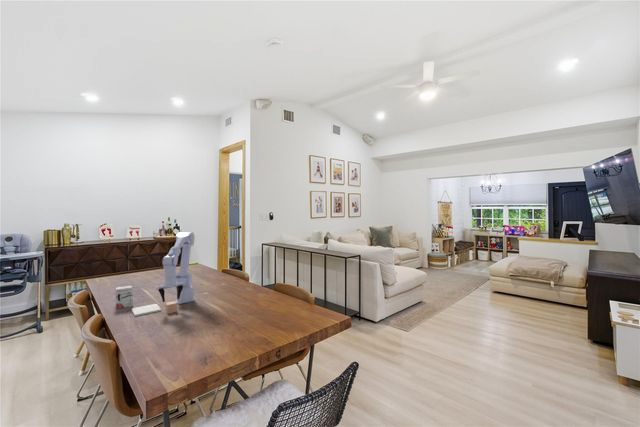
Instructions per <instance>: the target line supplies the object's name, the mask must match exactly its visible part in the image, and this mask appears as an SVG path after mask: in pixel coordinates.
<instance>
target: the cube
mask: <svg viewBox="0 0 640 427" xmlns="http://www.w3.org/2000/svg"><path fill="white" fill-rule="evenodd" d="M164 303H165V312H166V314H172V313H173V314H174V313H177V312H178V303H177V302H176V301H175V300H172V301H168V302H164Z"/></svg>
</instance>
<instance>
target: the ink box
mask: <svg viewBox="0 0 640 427" xmlns="http://www.w3.org/2000/svg"><path fill="white" fill-rule="evenodd" d="M133 299H134V298H133V285H125V286H117V287H116V288H115V309H116V310H117V309H118V310H119V309H124V308H129V307H133V305H134V304H133V303H134V302H133Z"/></svg>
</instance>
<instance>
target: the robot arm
mask: <svg viewBox="0 0 640 427" xmlns="http://www.w3.org/2000/svg"><path fill="white" fill-rule="evenodd" d="M175 240H176V241H175V243H174V245H173V246H172V247H171V248H170V249H169V252H168V253H167V254H166V255H165V256H164V257H163V258H162V261H161V263H162V266H163V267H162V268H163V270H164V284H160V285H156V286H155V290H156V291H158V293H159V295H160V296H161V300H162V302H163V303H166V300H165V293H166V291H165V289H170V288H175V289H176V299H175V300H174V301H175V302H176V303H177V305H181V304H185V303H191V302H195V296H194V295H195V293H194V292H195V290H194V287H193V275H192V274H191V273H190V272H189V266H190V260H191V258H190V257H191V250H192V247H193V246H194V243H195V233H194V232H193V231H191V232H190V231H188V232H187V231H185V232H184V231H183V232H182V231H181V232H177V233H176V235H175ZM181 248H182V250H181ZM180 254H181V259H180V266H179V271H178V272H177V270H176V269H177V265H178V260H179V256H180Z"/></svg>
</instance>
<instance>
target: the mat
mask: <svg viewBox="0 0 640 427" xmlns="http://www.w3.org/2000/svg"><path fill="white" fill-rule="evenodd" d="M131 311H132V313H133V316H134V317H139V316H144V315H149V314H153V313H158V312H161V311H162V308H161V307H160V306H159V305H158V304H157V303H153V304H148V305H143V306H137V307H132V308H131Z"/></svg>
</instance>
